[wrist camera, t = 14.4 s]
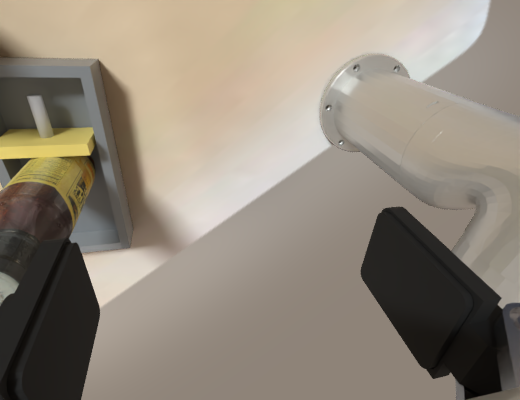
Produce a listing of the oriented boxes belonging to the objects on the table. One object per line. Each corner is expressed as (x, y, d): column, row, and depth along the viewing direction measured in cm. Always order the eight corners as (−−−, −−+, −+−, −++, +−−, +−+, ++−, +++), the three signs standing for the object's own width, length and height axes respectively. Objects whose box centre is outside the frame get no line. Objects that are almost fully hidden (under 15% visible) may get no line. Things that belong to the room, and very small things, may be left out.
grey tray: (98, 59, 32) (89, 66, 29) (133, 229, 44) (130, 247, 41) (-28, 56, 30) (-53, 64, 26) (45, 237, 41) (34, 257, 38)
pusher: (88, 89, 32) (76, 102, 28) (99, 137, 35) (90, 155, 31) (-7, 89, 30) (-33, 103, 27) (13, 140, 33) (-8, 159, 29)
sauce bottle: (85, 195, 39) (22, 340, 22) (28, 172, 36) (-93, 320, 19) (108, 153, 36) (56, 279, 20) (49, 125, 33) (-67, 247, 17)
